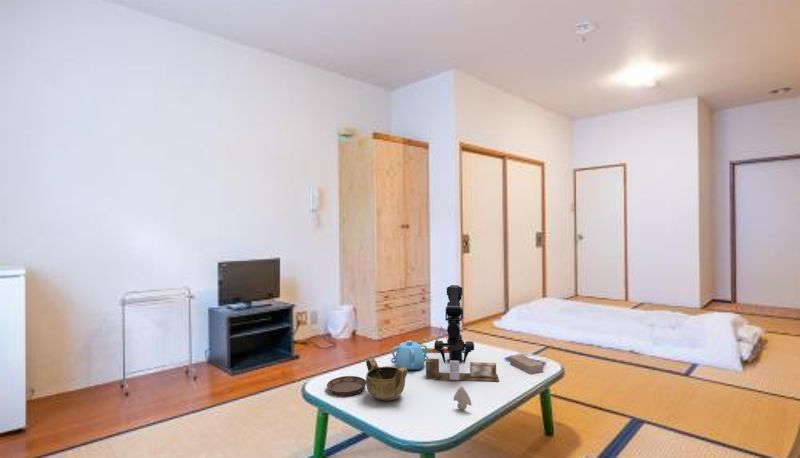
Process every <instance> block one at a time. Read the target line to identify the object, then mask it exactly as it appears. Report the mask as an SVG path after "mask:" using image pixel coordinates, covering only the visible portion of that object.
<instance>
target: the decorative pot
mask: <svg viewBox="0 0 800 458" xmlns="http://www.w3.org/2000/svg"><path fill="white" fill-rule="evenodd" d="M422 347H423V348H425V353H423V351H422V349H421V348H422ZM427 348H428V346H427V345H425V344H423V343H422V344H420V343H418V342H416V341H414V340H406V341H404V342H401V343H400V344H399V345H396V346H395V345H394V346H393V347H392V348H391V353H392V356H393V357H392V358H391V359H390V362H391V363H392V364H396V365H397V368H403V367H405V368H406V369H407V370H417V371H419V370H420V369H421V368H422V367H423V366H424V364H425V363H426V359H427V358H428V359H429V356H428V355H427V354H428V353H427V350H428V349H427ZM396 349H397V350H396ZM395 350H396V353H395Z"/></svg>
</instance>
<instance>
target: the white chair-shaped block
mask: <svg viewBox="0 0 800 458" xmlns="http://www.w3.org/2000/svg"><path fill="white" fill-rule="evenodd" d="M449 373H450V380H449V381H451V380H459V373H460V363H459V361H450V362H449Z"/></svg>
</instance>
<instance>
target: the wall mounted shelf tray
mask: <svg viewBox="0 0 800 458" xmlns="http://www.w3.org/2000/svg"><path fill="white" fill-rule="evenodd" d="M469 373H470V377H492V378H496V374H497V363H496V362H483V361H482V362H478V361H475V362H473V361H471V362H469Z"/></svg>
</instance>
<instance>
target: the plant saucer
mask: <svg viewBox="0 0 800 458" xmlns="http://www.w3.org/2000/svg"><path fill="white" fill-rule="evenodd" d="M326 387H327V389H328V390H329V392H330V393H332V394H333V395H334V396H335V395H337V396H341V397H343V396H344V397H345V396H347V397H348V396H353V395H356V394H359V393H360V392H362V390H363V389H364V388H365V387H366V378H363V377H360V376H356V375H345V376H339V377H335V378H333V379H330V380H329V381H328V382H326Z"/></svg>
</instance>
